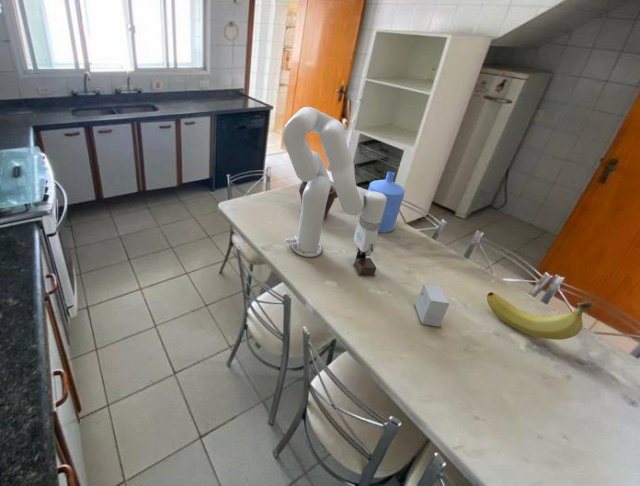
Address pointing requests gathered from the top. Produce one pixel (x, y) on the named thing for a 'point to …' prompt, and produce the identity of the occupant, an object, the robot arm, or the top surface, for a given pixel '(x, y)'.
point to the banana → (539, 319)
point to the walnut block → (365, 266)
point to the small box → (432, 305)
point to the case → (330, 199)
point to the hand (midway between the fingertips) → (360, 260)
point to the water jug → (388, 200)
